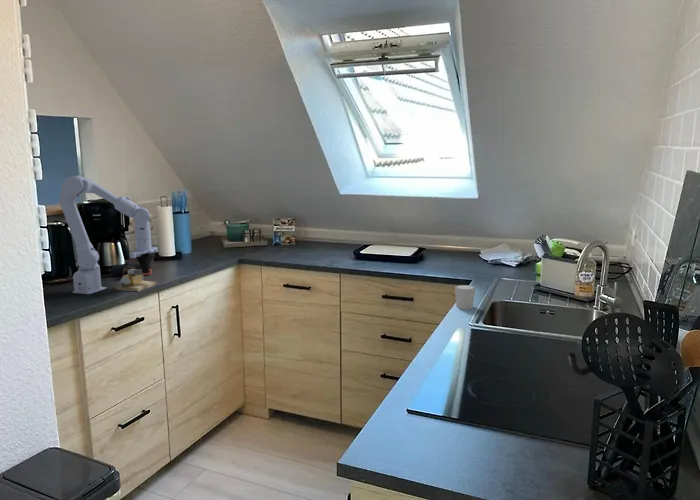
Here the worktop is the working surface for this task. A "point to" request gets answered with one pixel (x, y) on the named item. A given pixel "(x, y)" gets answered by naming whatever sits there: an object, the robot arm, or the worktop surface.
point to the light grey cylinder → (464, 296)
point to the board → (137, 286)
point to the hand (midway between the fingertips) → (145, 272)
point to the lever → (138, 272)
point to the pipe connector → (124, 269)
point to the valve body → (131, 280)
